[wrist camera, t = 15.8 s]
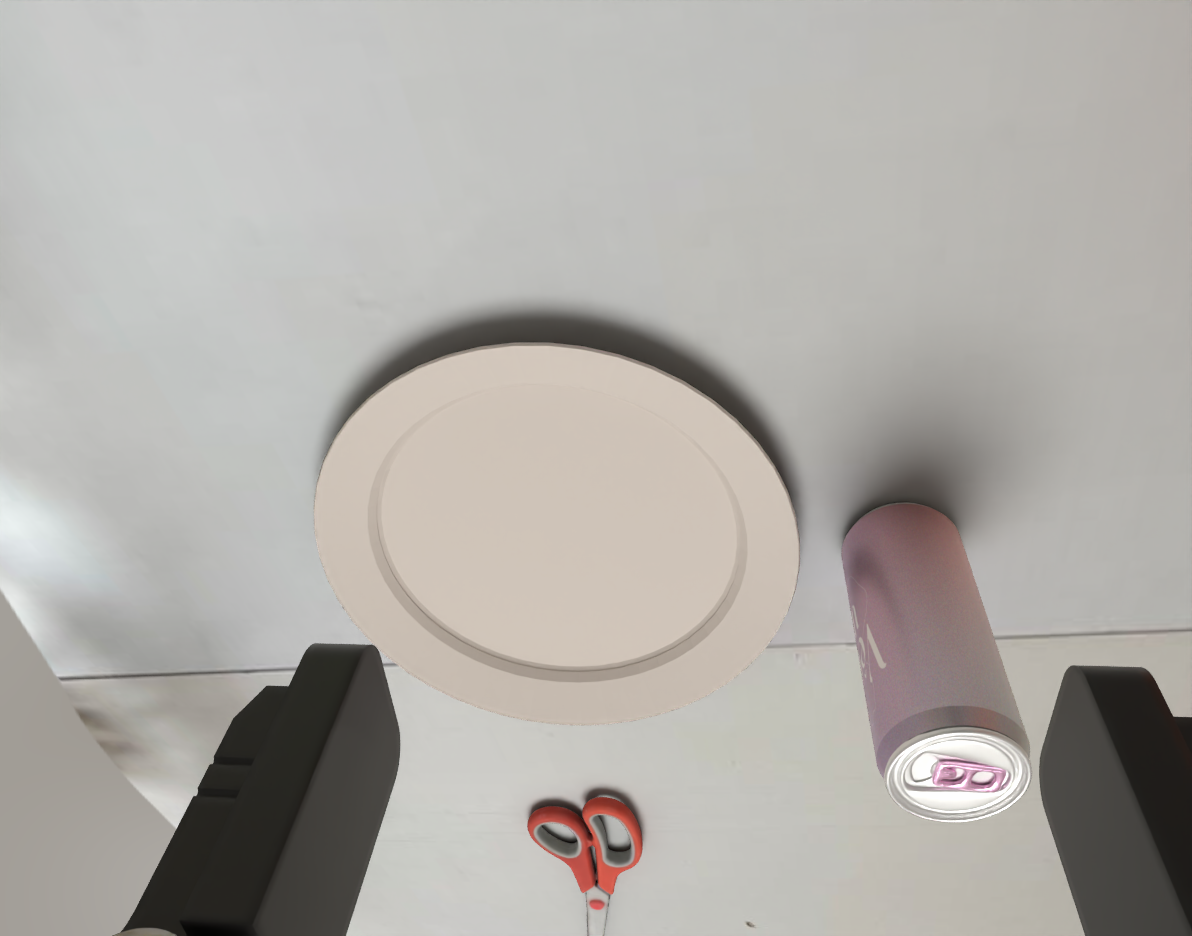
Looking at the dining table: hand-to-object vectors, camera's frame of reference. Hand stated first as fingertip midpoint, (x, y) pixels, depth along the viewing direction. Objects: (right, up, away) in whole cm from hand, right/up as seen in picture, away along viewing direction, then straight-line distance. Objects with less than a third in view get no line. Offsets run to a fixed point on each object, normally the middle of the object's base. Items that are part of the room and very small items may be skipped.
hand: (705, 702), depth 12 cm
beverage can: (+15, -1, +40) cm, 42 cm away
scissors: (0, -27, +60) cm, 65 cm away
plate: (-3, -1, +42) cm, 42 cm away
